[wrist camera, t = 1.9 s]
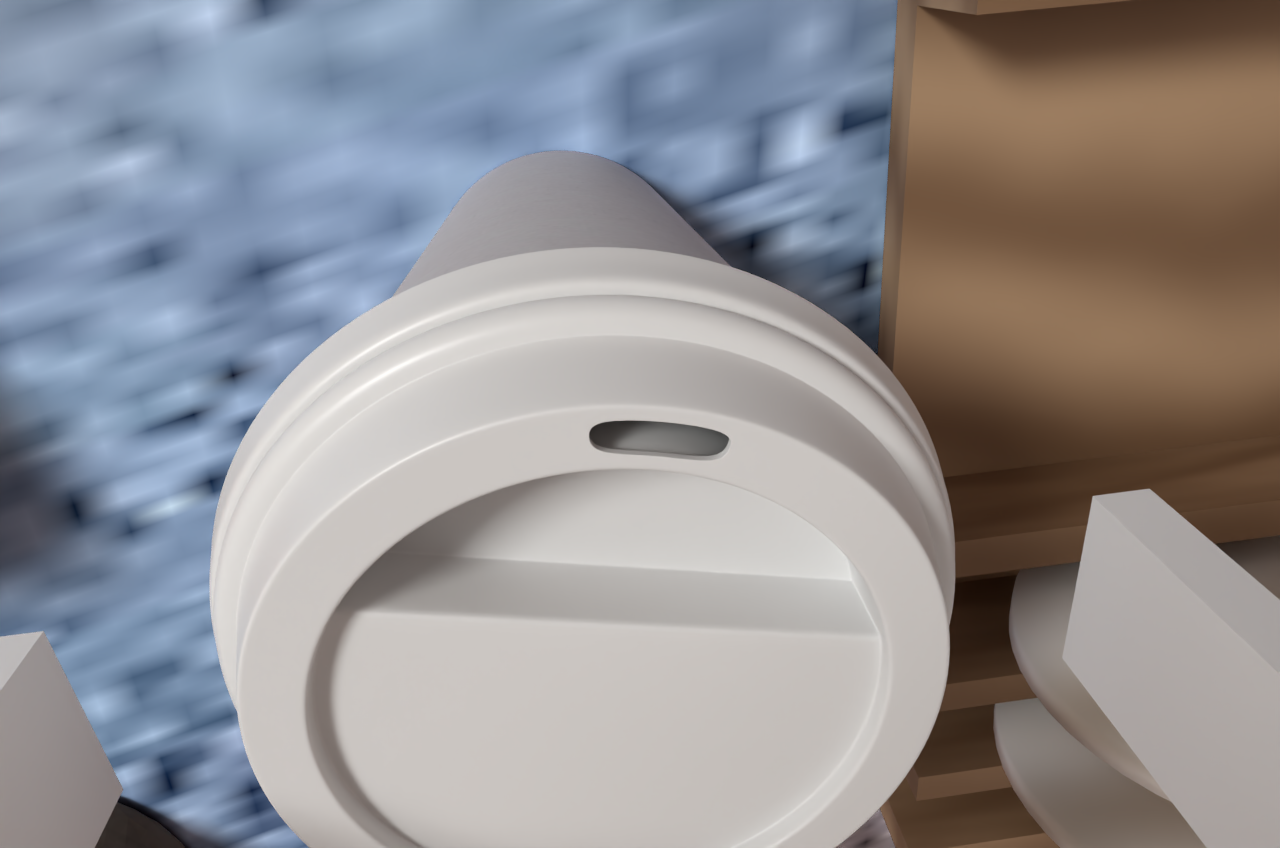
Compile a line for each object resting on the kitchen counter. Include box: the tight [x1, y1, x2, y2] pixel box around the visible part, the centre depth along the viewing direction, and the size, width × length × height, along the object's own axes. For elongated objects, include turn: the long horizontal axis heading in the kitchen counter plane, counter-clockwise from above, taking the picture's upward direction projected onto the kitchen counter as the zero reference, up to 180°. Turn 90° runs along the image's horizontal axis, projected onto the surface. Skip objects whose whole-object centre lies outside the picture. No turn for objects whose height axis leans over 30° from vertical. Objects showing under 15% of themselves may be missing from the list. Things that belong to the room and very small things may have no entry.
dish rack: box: [878, 0, 1280, 848], centre depth 22 cm, size 26×15×12 cm, turn 4°
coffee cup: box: [210, 151, 955, 848], centre depth 17 cm, size 10×10×15 cm
